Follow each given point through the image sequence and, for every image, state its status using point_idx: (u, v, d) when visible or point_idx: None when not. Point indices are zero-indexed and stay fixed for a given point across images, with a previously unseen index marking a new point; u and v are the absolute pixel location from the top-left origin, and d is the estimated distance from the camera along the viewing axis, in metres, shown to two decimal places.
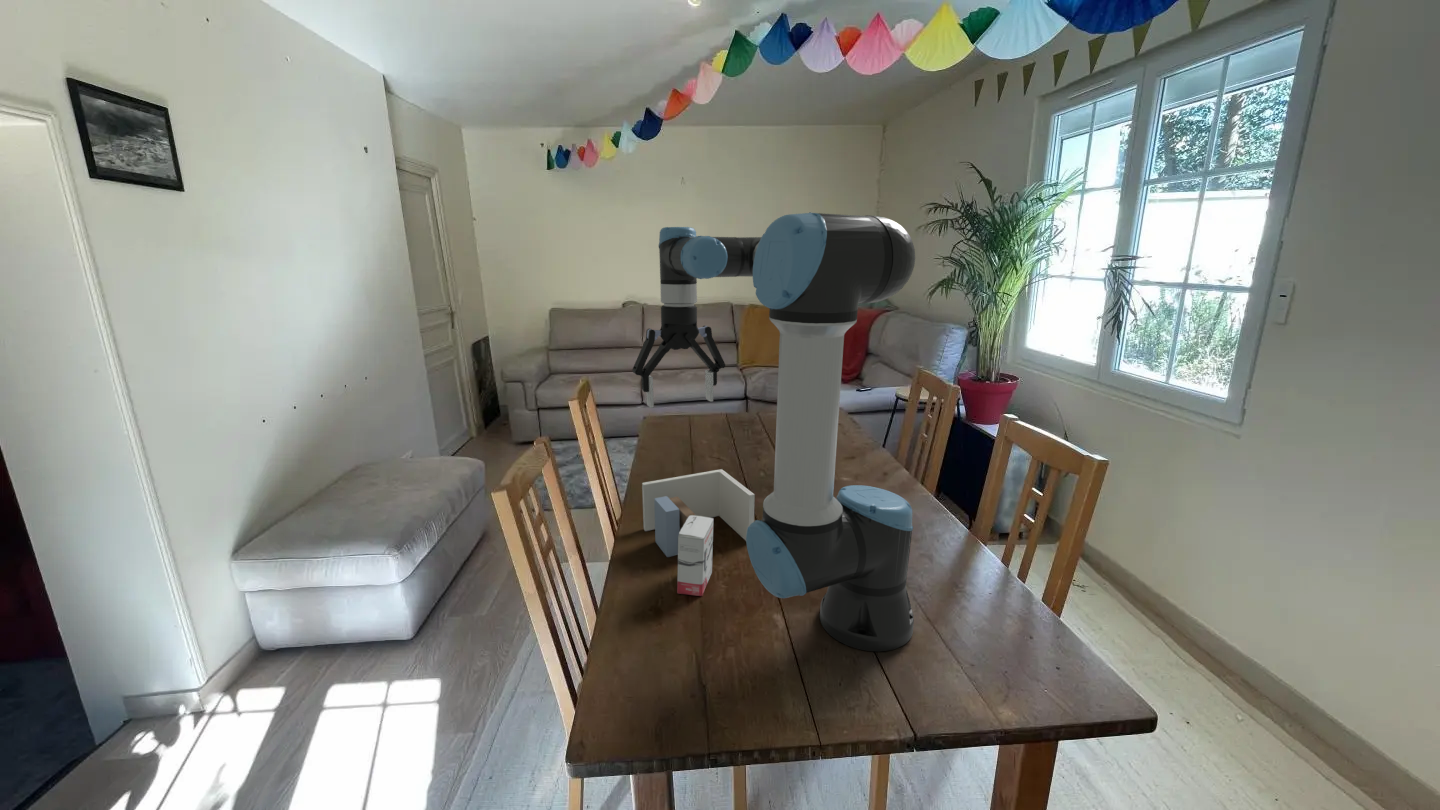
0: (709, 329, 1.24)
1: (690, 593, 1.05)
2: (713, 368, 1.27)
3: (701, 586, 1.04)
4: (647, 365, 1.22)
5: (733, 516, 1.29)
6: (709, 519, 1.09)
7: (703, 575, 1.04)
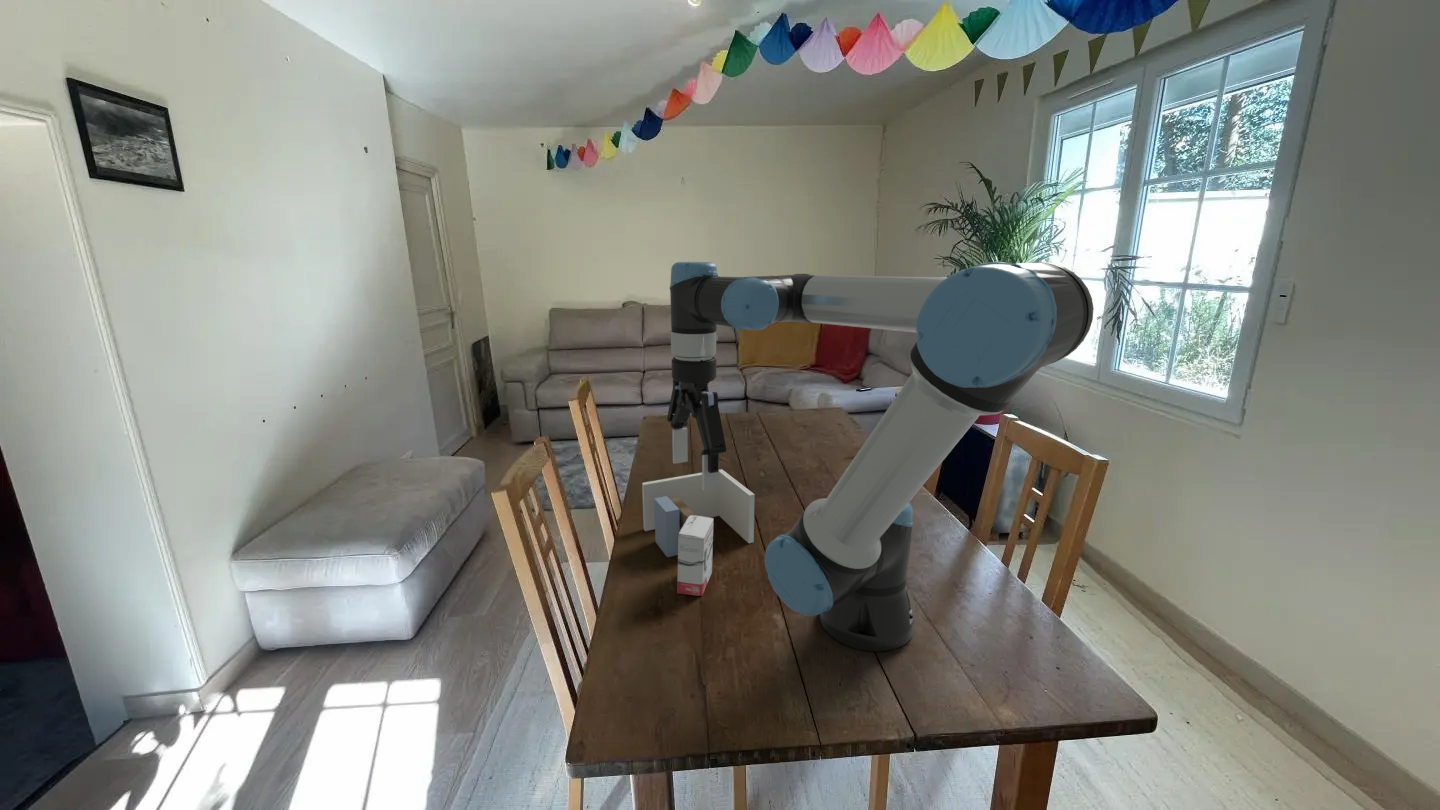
0: (702, 397, 0.93)
1: (690, 593, 1.05)
2: (705, 449, 0.95)
3: (701, 586, 1.04)
4: None
5: (733, 516, 1.29)
6: (709, 519, 1.09)
7: (703, 575, 1.04)
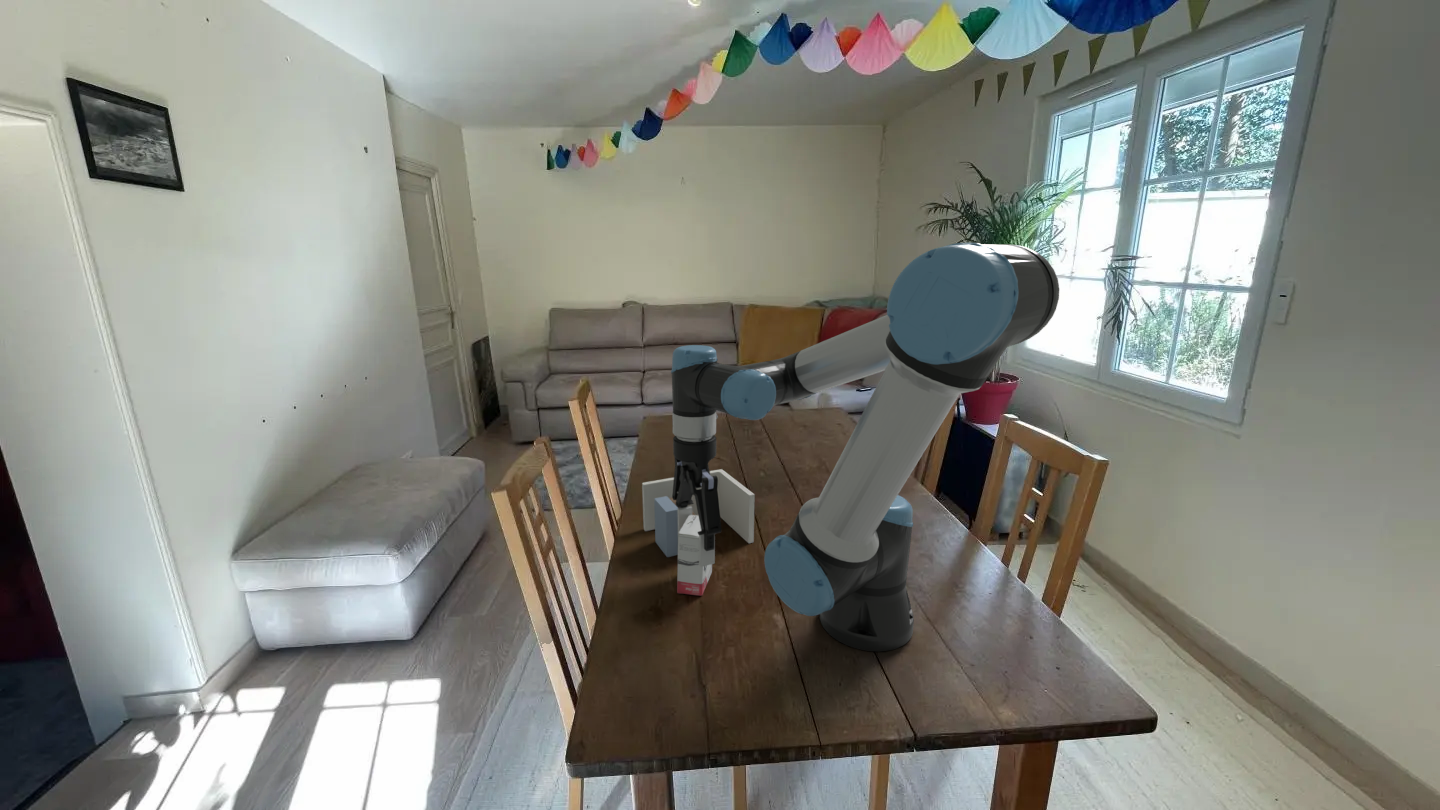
0: (703, 481, 0.97)
1: (690, 593, 1.05)
2: (701, 528, 1.00)
3: (701, 586, 1.04)
4: None
5: (733, 516, 1.29)
6: None
7: (703, 575, 1.04)
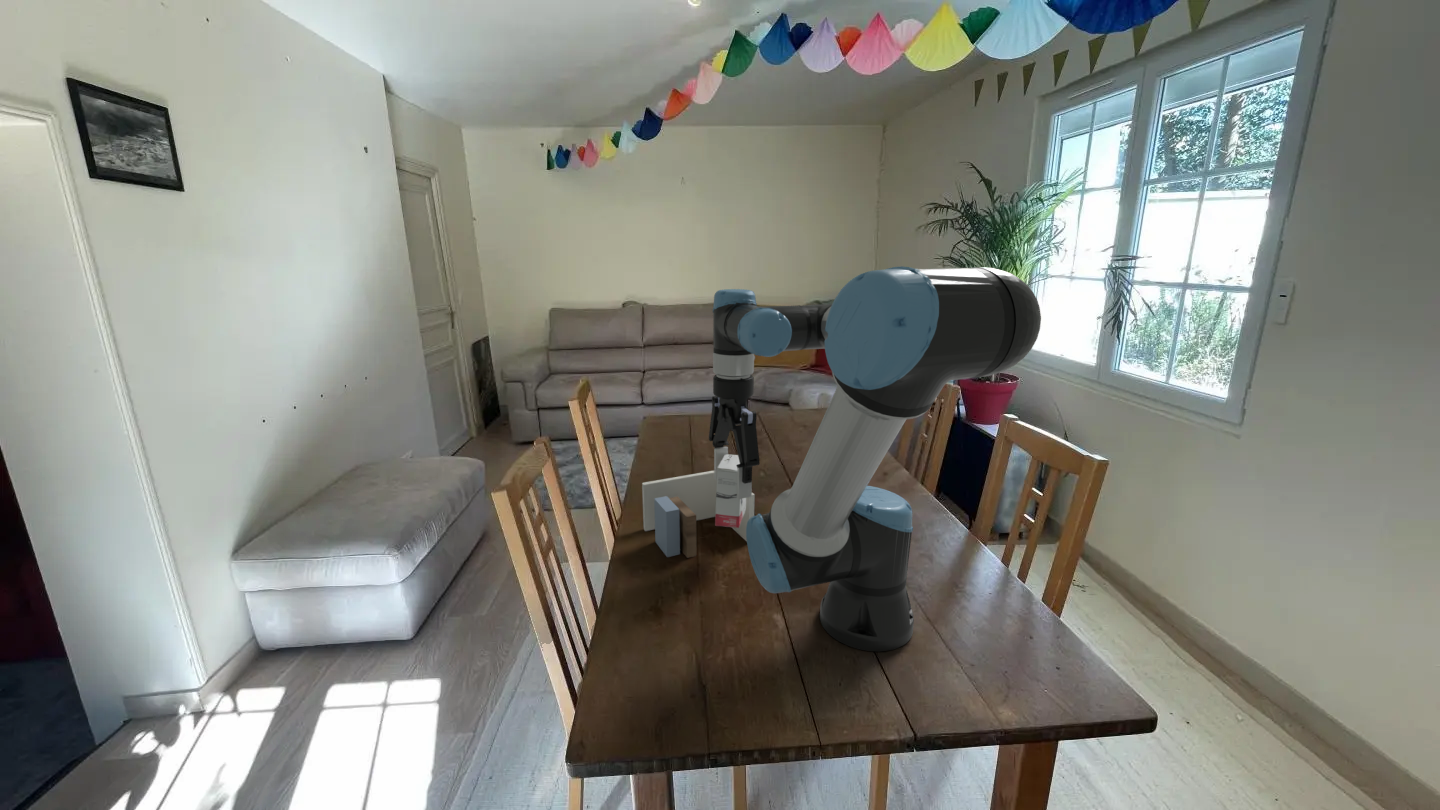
0: (743, 416, 1.03)
1: (727, 525, 1.11)
2: (740, 461, 1.06)
3: (738, 518, 1.11)
4: None
5: None
6: None
7: (740, 507, 1.11)
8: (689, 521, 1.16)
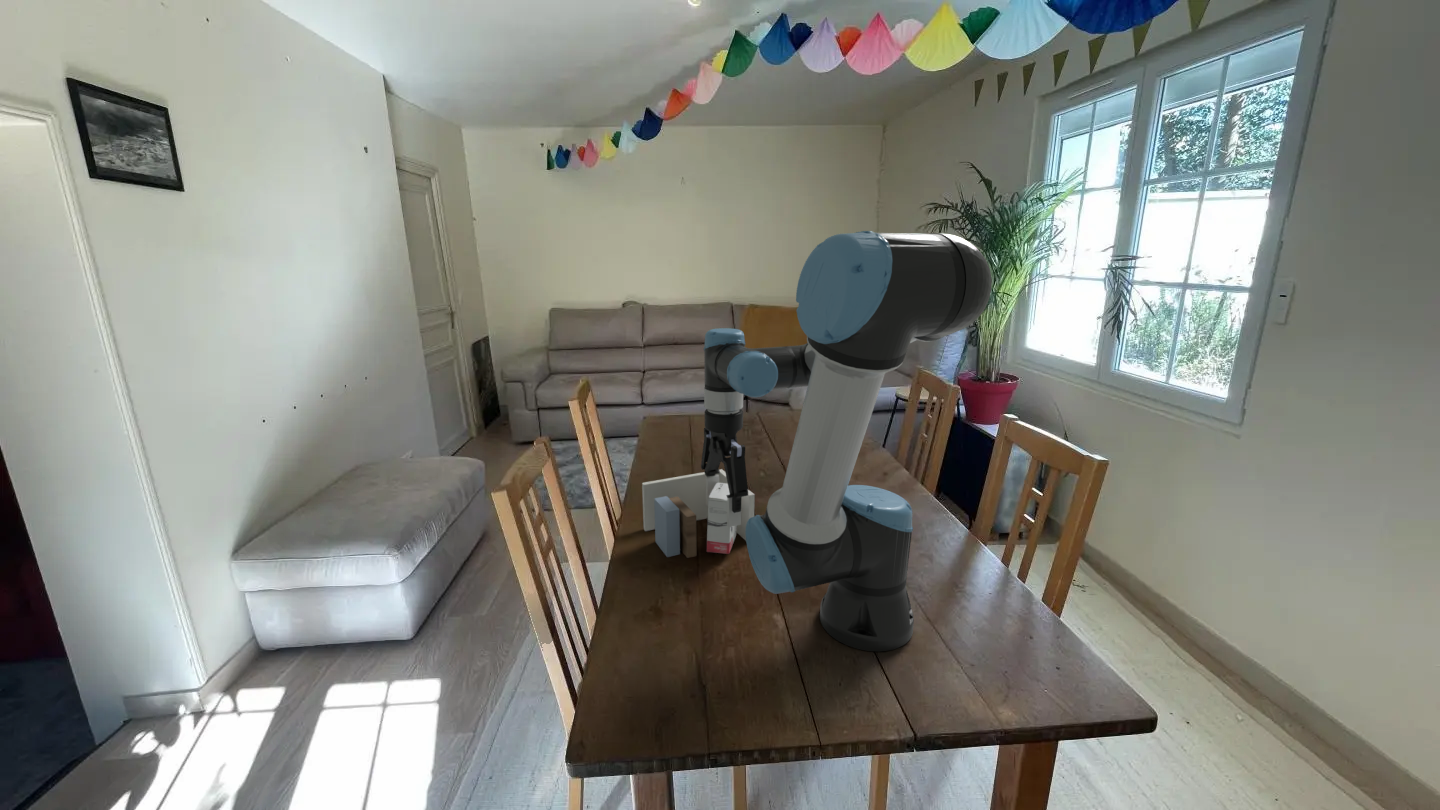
0: (732, 449, 1.09)
1: (718, 551, 1.17)
2: (730, 492, 1.12)
3: (728, 545, 1.16)
4: None
5: None
6: None
7: (730, 535, 1.16)
8: (689, 521, 1.16)
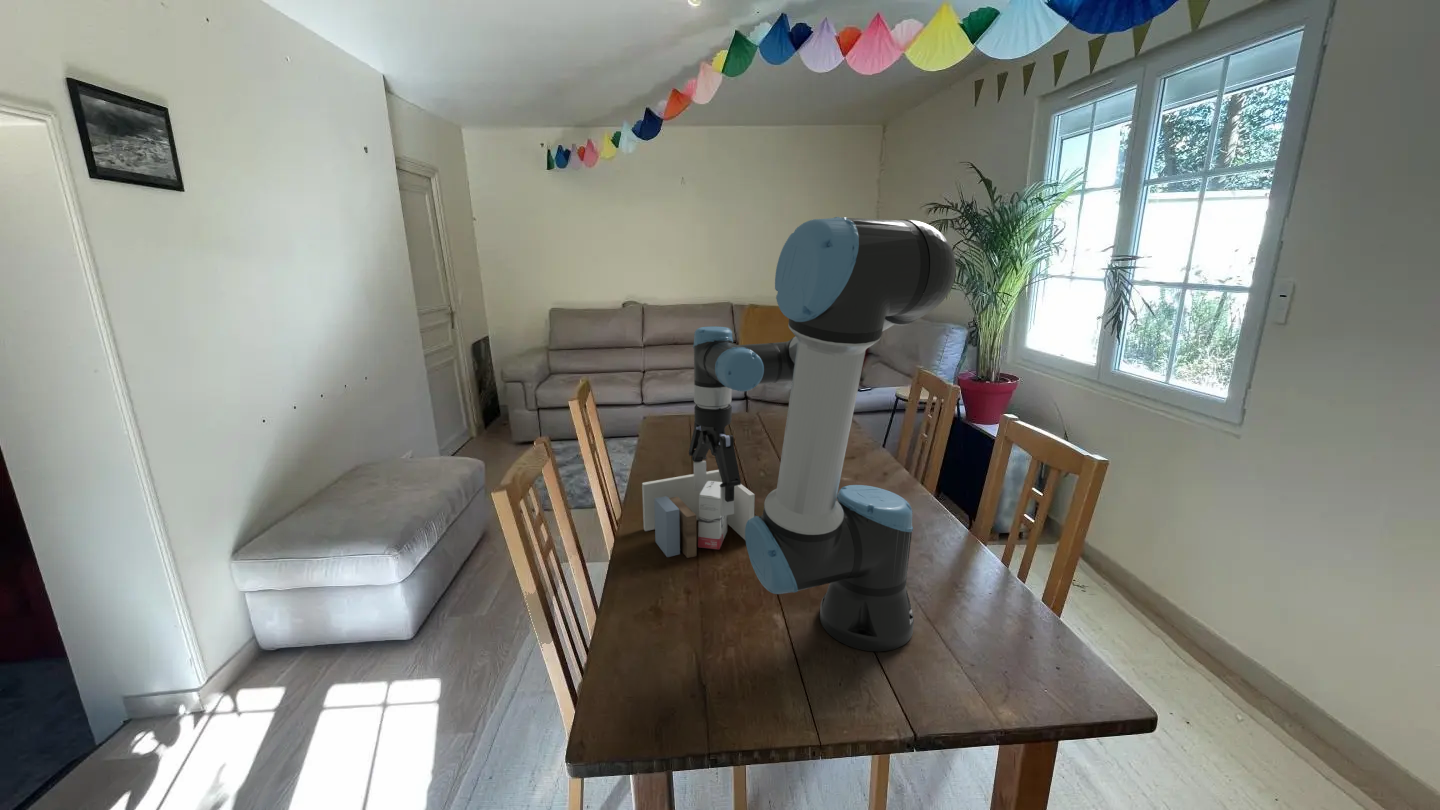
0: (721, 439, 1.13)
1: (709, 547, 1.21)
2: (723, 482, 1.14)
3: (718, 540, 1.20)
4: None
5: (733, 516, 1.29)
6: None
7: (720, 531, 1.20)
8: (689, 521, 1.16)
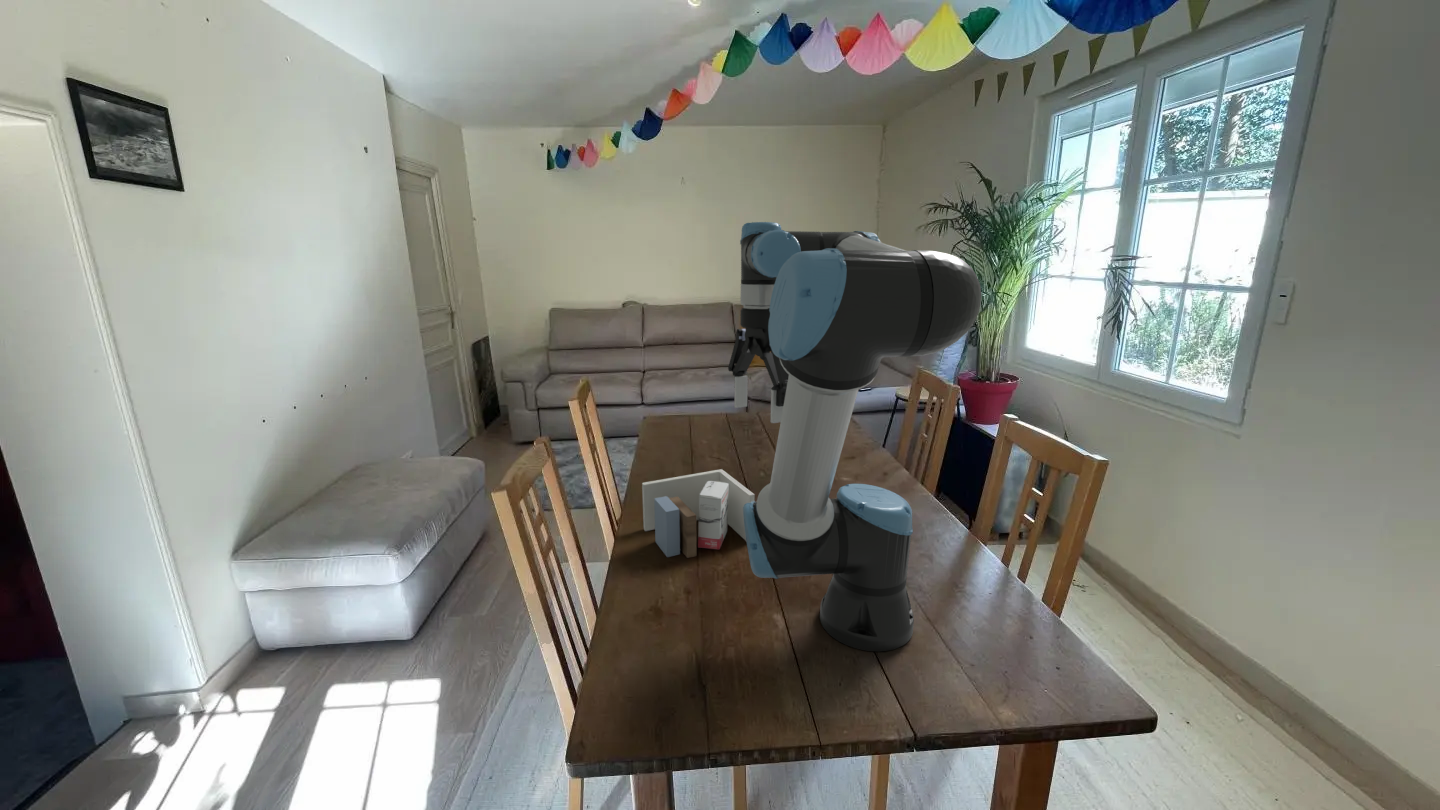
0: None
1: (709, 547, 1.21)
2: (774, 385, 1.08)
3: (718, 540, 1.20)
4: None
5: (733, 516, 1.29)
6: (725, 484, 1.25)
7: (720, 531, 1.20)
8: (689, 521, 1.16)
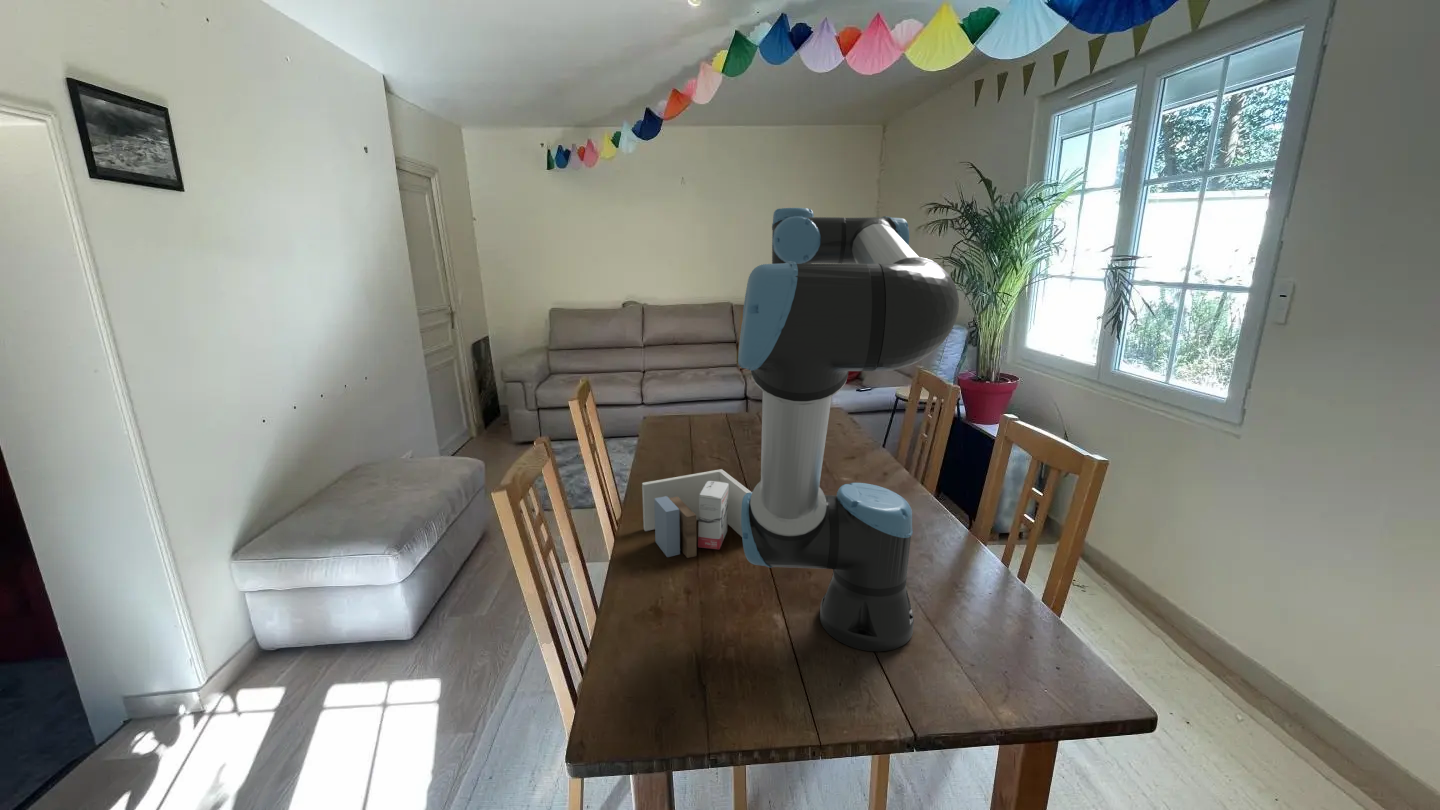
0: None
1: (709, 547, 1.21)
2: None
3: (718, 540, 1.20)
4: None
5: (733, 516, 1.29)
6: (725, 484, 1.25)
7: (720, 531, 1.20)
8: (689, 521, 1.16)
